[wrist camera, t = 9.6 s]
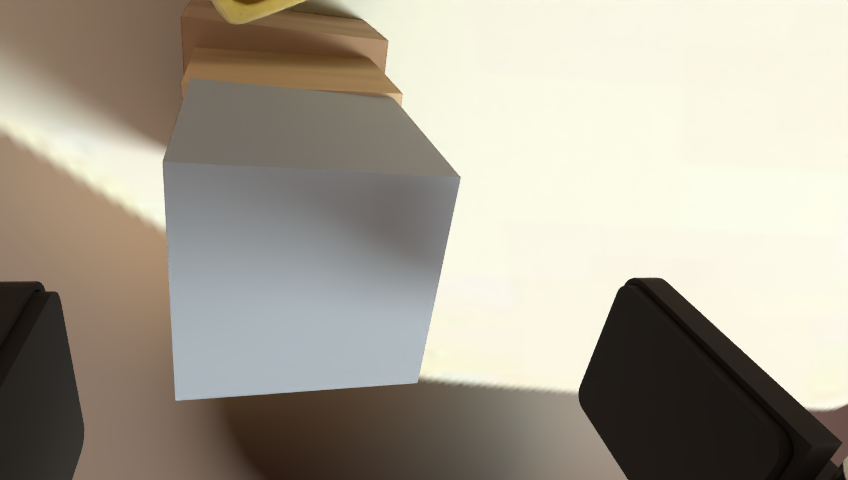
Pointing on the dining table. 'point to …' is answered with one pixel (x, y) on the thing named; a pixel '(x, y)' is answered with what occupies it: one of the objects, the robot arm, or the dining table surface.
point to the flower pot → (250, 9)
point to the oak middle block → (291, 71)
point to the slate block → (300, 240)
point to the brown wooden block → (281, 34)
